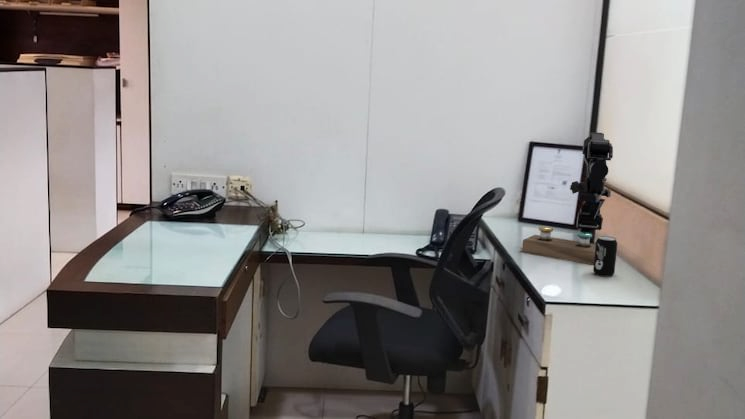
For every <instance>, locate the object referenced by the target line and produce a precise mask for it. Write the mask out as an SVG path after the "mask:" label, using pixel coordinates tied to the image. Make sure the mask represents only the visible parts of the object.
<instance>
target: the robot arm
mask: <svg viewBox="0 0 745 419" xmlns="http://www.w3.org/2000/svg"><path fill="white" fill-rule="evenodd" d="M582 144H583V145H582V155H583V160H584V163H585V165H586V169H587V170H586V177H585V179H584V181H581V182H579V181H578V180H576V181H572V182H571V185H569V190H570V191H571V194H572V195H574V194H577V193H579V194H578V196H577V197H578V198H577V201H579V202H584V203H583V204H582V205H581V207H580V209H579V212H578V213H577V219H576V229H579V232H588V233H592V237H591V238H590V241H589V243H591V244H596V234H597V233H596V232H597V231H601V230H602V229H603V228H602V226H603V221H604V218H603V216H602V213H601V208H602V206H603V205H604V203H605V201H606V199H605V198H602V196H604V197H606V198H610V197H611V194H612V192H611V190H610V189H609V188H605V183H606V182H607V177H606V176H607V175H608V173H609V167H608V165H607V161H610V162H611V161H612V159H613V156H614V150H613V149H614V146H613V145H612V143H611V142H610V139H606V138H605V133H603V132H594V131H593V132H590V133H589V136H588V137H586V138H585V139H584V140H583V143H582ZM577 241H578V242H579V240H577Z"/></svg>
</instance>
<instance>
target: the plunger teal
mask: <svg viewBox="0 0 745 419" xmlns="http://www.w3.org/2000/svg"><path fill="white" fill-rule="evenodd" d="M576 236H577V237H578V241H579V243H578V247H584V248H589V241H590V238H591V237H592V233H588V232H580V231H578V232H577V233H576Z"/></svg>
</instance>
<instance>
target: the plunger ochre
mask: <svg viewBox="0 0 745 419" xmlns="http://www.w3.org/2000/svg"><path fill="white" fill-rule="evenodd" d="M538 231H540V232H539V235H540V240H541V241H547V242H550V237H552V236H551V235H552V234H551V233H553V231H554V227H553V226H547V225H539V226H538Z"/></svg>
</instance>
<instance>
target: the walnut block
mask: <svg viewBox="0 0 745 419" xmlns="http://www.w3.org/2000/svg"><path fill="white" fill-rule="evenodd" d="M578 241H579V240H572V239H565V238H559V237H552V236H550V242H547V241H541V240H540V234H533V235H531V236H529V237H526V238H524V239H522V247H521V253H524V254H529V255H535V256H541V257H542V256H543V257H547V258H552V259H559V260H564V261H565V260H566V261H571V262H575V263H576V262H577V263H581V264H587V265H592V266H594V257H595V247H596V244H591V243H589V248H584V247H578V243H579V242H578Z"/></svg>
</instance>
